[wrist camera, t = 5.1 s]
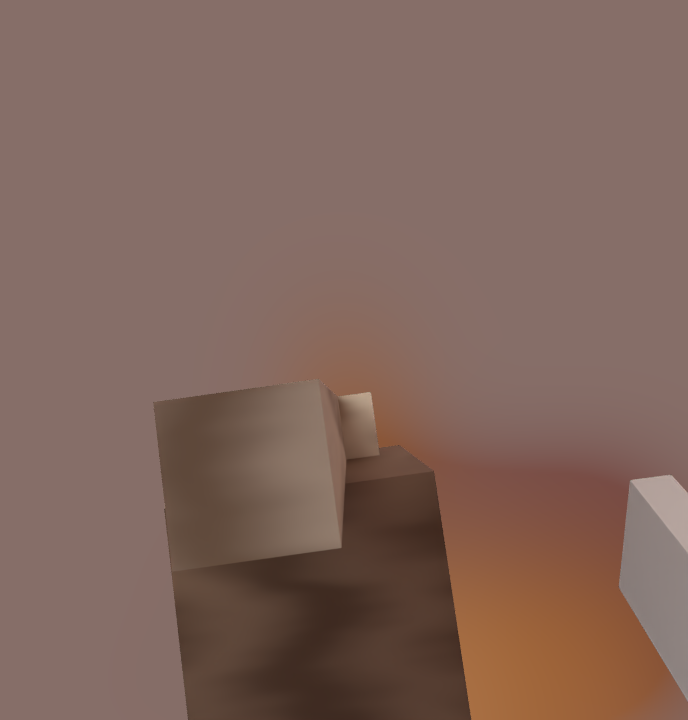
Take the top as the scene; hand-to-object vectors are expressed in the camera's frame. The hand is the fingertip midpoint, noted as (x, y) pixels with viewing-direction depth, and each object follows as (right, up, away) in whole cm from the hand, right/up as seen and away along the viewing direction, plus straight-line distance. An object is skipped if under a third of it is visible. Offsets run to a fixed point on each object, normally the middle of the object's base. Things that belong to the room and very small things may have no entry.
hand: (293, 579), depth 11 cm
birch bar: (-1, -1, +12) cm, 12 cm away
